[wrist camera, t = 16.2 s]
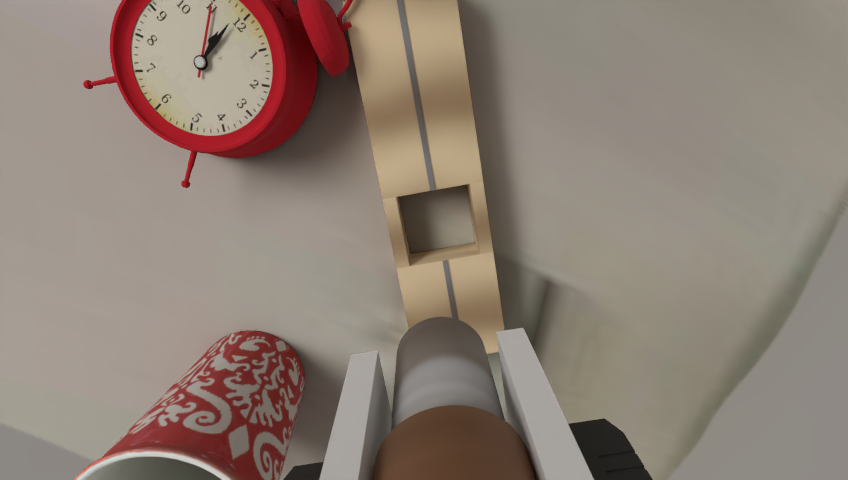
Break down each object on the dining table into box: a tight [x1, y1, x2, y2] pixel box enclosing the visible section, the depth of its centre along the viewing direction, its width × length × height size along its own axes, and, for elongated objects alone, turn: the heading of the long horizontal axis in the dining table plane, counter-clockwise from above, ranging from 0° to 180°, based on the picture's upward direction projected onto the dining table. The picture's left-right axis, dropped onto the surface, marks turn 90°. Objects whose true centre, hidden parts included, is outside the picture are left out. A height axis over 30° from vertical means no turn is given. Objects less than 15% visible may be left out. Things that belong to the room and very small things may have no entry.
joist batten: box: [342, 0, 505, 354], centre depth 30 cm, size 22×6×3 cm, turn 10°
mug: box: [74, 331, 305, 480], centre depth 29 cm, size 13×9×14 cm
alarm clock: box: [83, 0, 353, 188], centre depth 26 cm, size 10×6×15 cm
